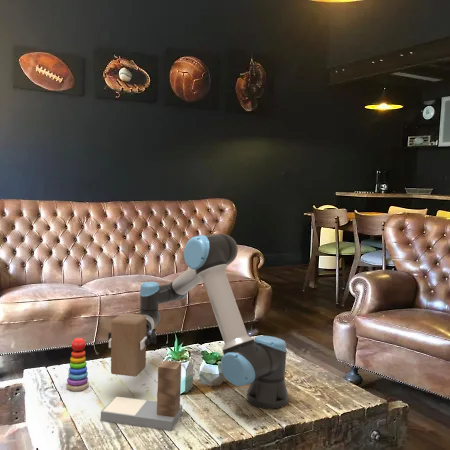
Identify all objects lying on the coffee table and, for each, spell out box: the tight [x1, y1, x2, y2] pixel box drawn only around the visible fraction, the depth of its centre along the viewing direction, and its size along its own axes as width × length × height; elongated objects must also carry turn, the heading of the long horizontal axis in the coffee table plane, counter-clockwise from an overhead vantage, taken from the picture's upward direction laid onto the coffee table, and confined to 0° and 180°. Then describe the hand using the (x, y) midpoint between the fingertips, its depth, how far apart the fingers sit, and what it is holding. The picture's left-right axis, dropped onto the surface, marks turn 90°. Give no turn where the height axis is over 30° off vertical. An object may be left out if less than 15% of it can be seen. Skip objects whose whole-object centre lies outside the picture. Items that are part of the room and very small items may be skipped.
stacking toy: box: [66, 337, 90, 392], centre depth 186 cm, size 8×8×19 cm
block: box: [110, 312, 147, 377], centre depth 180 cm, size 10×10×20 cm
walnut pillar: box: [156, 360, 182, 417], centre depth 164 cm, size 6×6×16 cm
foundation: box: [100, 395, 183, 432], centre depth 166 cm, size 24×12×3 cm, turn 79°
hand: (125, 344), depth 175 cm, fingers closed on block, 11 cm apart
